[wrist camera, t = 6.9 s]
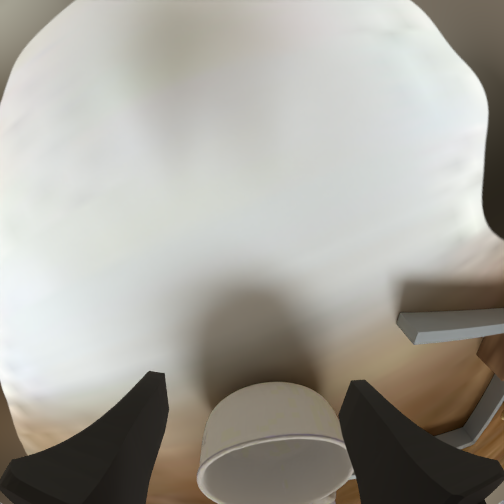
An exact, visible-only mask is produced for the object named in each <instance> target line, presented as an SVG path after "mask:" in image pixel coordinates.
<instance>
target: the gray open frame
mask: <svg viewBox="0 0 504 504" xmlns="http://www.w3.org/2000/svg"><path fill="white" fill-rule="evenodd" d="M397 325H398V327H399V328H400V329H401V330H402V331H403V332H404V334H405V335H406V336H407V337H408V338H409V340H410V341H411V342H412V343H413V344H414V345H417V344H428V343H438V342H447V341H455V340H463V339H470V338H477V337H483V336H490V335H496V334H501V333H504V308H493V309H479V310H462V311H441V312H409V313H400V314H399V318H398V321H397ZM503 401H504V381H503V382H502V381H501V379H500V378H499V377H498V376H497V375H496V374H494V376H493V378H492V380H491V382H490V384H489V386H488V388H487V389H486V391H485V393H484V395H483V396H482V398H481V400H480V401H479V403H478V405H477V406H476V408H475V410H474V411H473V413H472V414H471V416H470V418H469V419H468V421H467V422H466V424H465V425H464V427H462V428H459V429H456V430H453V431H450V432H447V433H444V434H441V435H437V436H434V437H436V438H438V439H439V440H441V441H443V442H445V443H447V444H449V445H451V446H453V447H455V448H458V449H460V450H461V449H463V448H466V447H468V446H471V445H473V444H474V443H475V442H476V441H477V439H478V438H479V437H480V435H481V434H482V432H483V431H484V430H485V428H486V427H487V425H488V424H489V423H490V421H491V420H492V418H493V417H494V415H495V414H496V412H497V410H498V409H499V407H500V406H501V404H502V403H503ZM351 479H356V476H355V473H354V472H353V474H352V476H351V477H350V478H349V479H348V480H351Z"/></svg>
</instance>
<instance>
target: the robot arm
mask: <svg viewBox="0 0 504 504" xmlns="http://www.w3.org/2000/svg"><path fill="white" fill-rule="evenodd" d="M168 412H169V405H168V398H167V390H166V382H165V373H159V372H152V371H149V372H147V373H146V374H145V376H144V377H143V378H142V379H141V380H140V381H139V382H138V383H137V384H136V385H135V386H134V387H133V388H132V389H131V390H130V391H129V392H128V393H127V394H126V395H125V396H124V397H123V398H122V399H121V400H120V401H119V402H118V403H117V404H116V405H115V406H114V407H113V408H111V409H110V410H109V411H108V412H107V413H106V414H104V415H103V416H102V417H101V418H100V419H98V420H97V421H96V422H94V423H93V424H91V425H90V426H89V427H87V428H86V429H84V430H83V431H81V432H80V433H78V434H76V435H74V436H73V437H71V438H69V439H68V440H66V441H64V442H62V443H60V444H58V445H55V446H53V447H51V448H48V449H46V450H44V451H41V452H38V453H35V454H32V455H29V456H25V457H21V458H18V459H13V460H12V461H11V462H10V463H9V465H8V466H7V468H6V470H5V472H4V474H3V476H2V477H1V479H0V491H2V493H3V494H4V495H5V496H6V497H7V498H8V499H9V500H10V501H12V502H13V503H14V504H146V498H147V492H148V486H149V481H150V477H151V473H152V470H153V467H154V464H155V461H156V457H157V454H158V451H159V448H160V445H161V442H162V439H163V436H164V432H165V428H166V423H167V418H168ZM339 421H340V427H341V432H342V437H343V440H344V443H345V446H346V449H347V452H348V455H349V458H350V461H351V464H352V467H353V470H354V473H355V476H356V479H357V483H358V488H359V493H360V499H361V504H486V502H485V500H484V499H485V498H486V497H487V496H489V495H490V494H491V493H492V492H493V491H494V490H495V489H496V488H497V487H498V486H499V485H500V484H501V483H502V482H503V481H504V470H503V468H502V466H501V465H500V463H499V462H498V460H493V459H489V458H485V457H481V456H477V455H474V454H471V453H468V452H465V451H463V450H460V449H458V448H455V447H453V446H451V445H449V444H447V443H445V442H443V441H441V440H439V439H438V438H436V437H434V436H433V435H431V434H429V433H428V432H426V431H425V430H423V429H422V428H420V427H419V426H417V425H416V424H415V423H414V422H412V421H411V420H410V419H408V418H407V417H406V416H405V415H403V414H402V413H401V412H400V411H399V410H397V409H396V408H395V407H394V406H393V405H392V404H391V403H390V402H388V401H387V400H386V399H385V398H384V397H383V396H382V395H381V394H380V393H379V392H378V391H377V390H376V389H374V388H373V387H372V386H371V385H370V384H369V383H368V382H367V381H366V380H354V381H351V382H350V385H349V388H348V391H347V393H346V396H345V399H344V402H343V404H342V407H341V409H340V412H339ZM0 504H1V503H0ZM310 504H313V503H310ZM330 504H335V500H334V501H333V502H332V503H330ZM498 504H504V500H503V501H501V502H500V503H498Z"/></svg>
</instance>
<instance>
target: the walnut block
mask: <svg viewBox="0 0 504 504" xmlns="http://www.w3.org/2000/svg"><path fill="white" fill-rule="evenodd" d="M477 356H478V357H479V358H480V359H481V360H482V361H483V362H484V363H485V364H486V365H487V366H488V367H489V368H490V369H491V370H492V371H493V372H494V373H495V374H496V375H497V376H498V377H499V378H500V379H501V381H502V382H503V381H504V333H501V334H496V335H490V336H484V338H483V341H482V343H481V345H480V348H479V350H478V352H477Z"/></svg>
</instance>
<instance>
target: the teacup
mask: <svg viewBox="0 0 504 504" xmlns="http://www.w3.org/2000/svg"><path fill="white" fill-rule="evenodd" d="M353 472H354V470H353V467H352V464H351V461H350V458H349V455H348V452H347V449H346V446H345V443H344V440H343V437H342V432H341V427H340V422H339V420H338V418H337V416H336V414H335V412H334V410H333V408H332V407H331V406H330V404H329V403H328V402H327V401H326V399H325V398H324V397H322V396H321V395H320V394H318V393H317V392H315V391H314V390H312V389H310V388H308V387H305V386H302V385H299V384H294V383H288V382H266V383H259V384H254V385H251V386H248V387H245V388H242V389H240V390H237V391H236V392H234V393H232V394H230V395H229V396H227V397H226V398H224V399H223V400H222V401H221V402H220V403H219V404H218V405H217V406H216V407H215V408H214V410H213V411H212V412H211V414H210V416H209V418H208V420H207V423H206V426H205V430H204V435H203V441H202V448H201V457H200V467H199V469H198V472H197V483H198V486H199V488H200V490H201V491H202V492H203V493H204V494H205V495H206V496H207V497H208V498H210V499H211V500H213V501H214V502H216V503H219V504H310V503H313V504H330V503H332V502H333V501H334V500H335V498H336V490H337V489H339V488H340V487H341V486H343V485H344V484H345V483H346V482H347V481H348V479H349V478H350V477H351V476H352V474H353Z"/></svg>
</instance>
